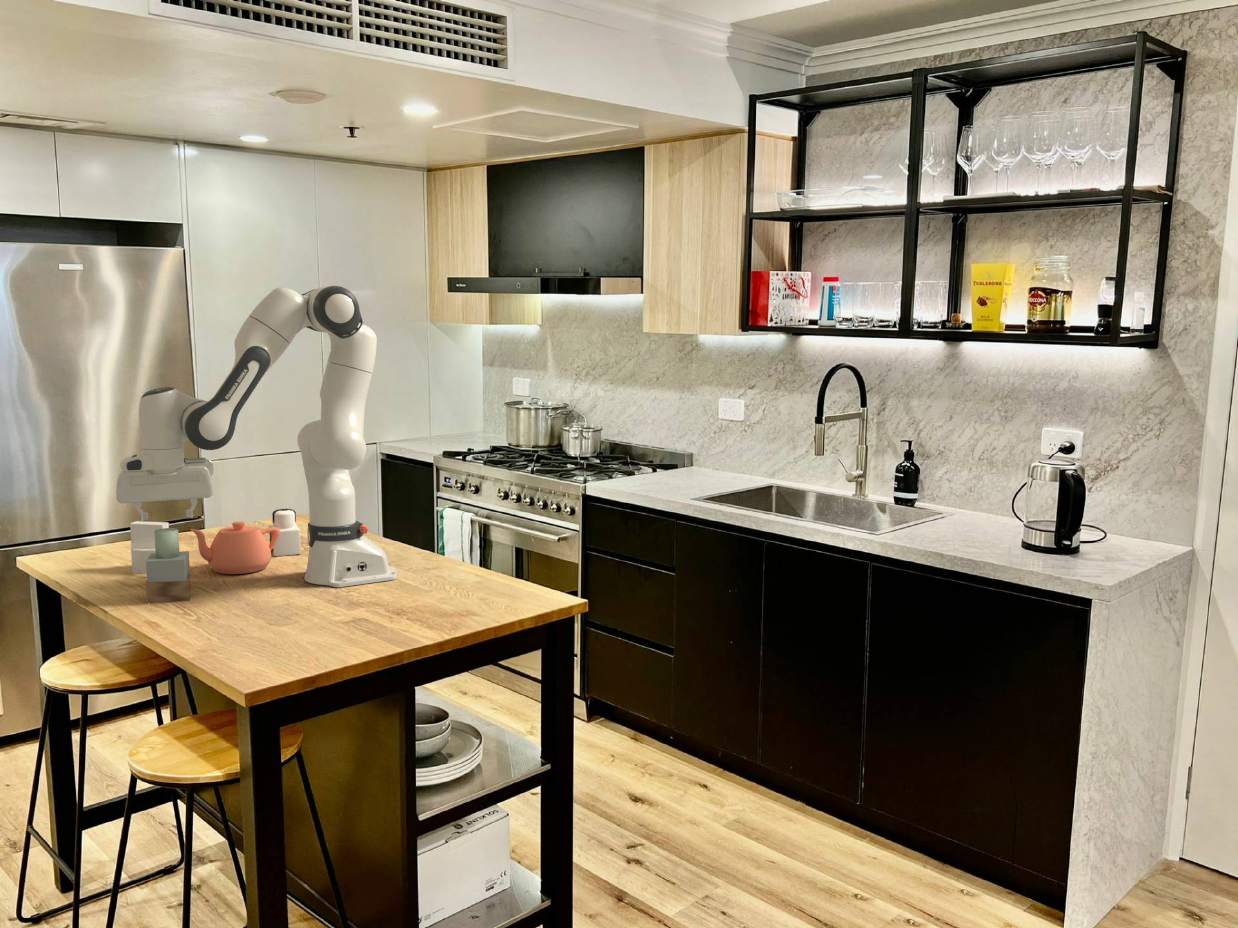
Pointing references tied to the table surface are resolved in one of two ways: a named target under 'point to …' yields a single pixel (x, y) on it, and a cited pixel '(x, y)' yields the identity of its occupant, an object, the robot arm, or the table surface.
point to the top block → (167, 568)
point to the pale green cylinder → (166, 543)
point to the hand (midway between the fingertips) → (167, 519)
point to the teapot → (238, 548)
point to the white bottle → (286, 533)
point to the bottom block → (168, 591)
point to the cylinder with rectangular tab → (143, 543)
